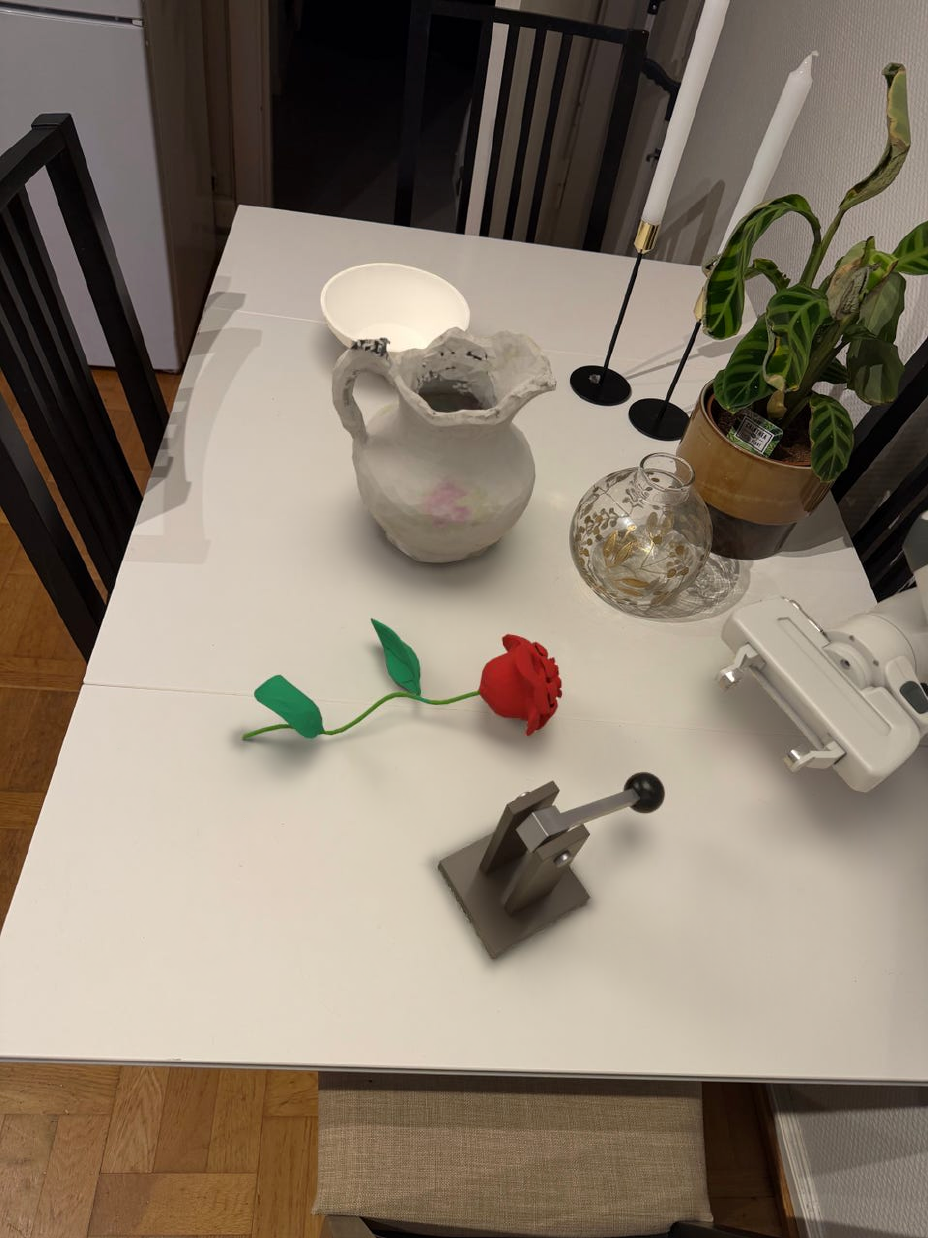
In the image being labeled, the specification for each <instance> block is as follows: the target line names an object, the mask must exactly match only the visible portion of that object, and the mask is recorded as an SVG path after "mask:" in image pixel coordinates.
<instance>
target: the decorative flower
mask: <svg viewBox="0 0 928 1238" xmlns="http://www.w3.org/2000/svg"><path fill="white" fill-rule="evenodd" d="M370 622H371V624H372V626H373V628H374V630H375V633H376V634H377V637H378V639H379V641H380V643H381V647H382V649H383V652H384V656H385V663H386V668H387V671H388V674H389V675H390V677H391V679H393V681H395V682H396V683H397V684H398V685H400V686H402V687H403V688H405V689H406V690H407V691H408V692H404V691H397V692H392V693H389V694H387V695H385V696H384V697H382V698H380V699H379V700H377V701H376V702H375V703H374V704H373V705H371V706H370V707H369V708H368V709H366V711H364V712H363V713H362V714H360V715H359V716H357V718H355V719H353V720H352V721H351V722H349V723H347V724H345V725H343V726H342V727H340V728H336V729H333V730H325V728H324V725H323V716H322V713H321V710H320V707H318V705H317V704H316V703H315V702H314V701H313V700H312V699H311V698H310V697H308V696H307V694H305V693H304V692H302V691H301V690H300V689H299V688H297V687H296V686H295V685H293V684H292V683H291V682H290V681H289V680H287V678H286V677H284V676H283V675H281V674H276V675H274V676H272V677H269V678H268V679H266V680H265V681H264V682H263V683H262V684H260V685H259V686H258V687H257V688H256V689H254V692H253V697H254V698H255V700H256V701H257V702H258V703H260V704H261V705H263V706H265V707H266V708H267V709H269V710H270V711H272V712H274V713H275V714H276V715H278V716H279V717H280V718H282V719H283V720H284V721H285V722H286V723H278V724H273V725H270V726H264V727H262V728H259V729H255V730H253V731H249V732H248V733H245V734H243V735H242V740H245V739H249V738H251V737H254V736H257V735H260V734H264V733H267V732H272V731H276V730H277V731H278V730H286V729H287V730H294V731H295V732H296V733H298V735H300V736H301V737H302V738H305V739H311V740H312V739H316V738H317V737H318V736H319V735H320V736H321V735H325V736H335V735H338V734H342V733H344V732H345V731H347V730H349V729H351V728H352V727H354V726H355V725H358V723H361V722H362V721H363V720H364V719H365V718H366V717H367V716H369V715H371V713H372V712H374V711H375V710H377V708H378V707H380V706H381V705H383V704H384V703H386V702H387V701H389V700H392V699H395V698H409V699H412V700H416V701H418V702H422V703H424V704H427V705H432V706H442V705H450V704H452V703H456V702H460V701H462V700H466V699H469V698H473V697H477V696H479V697H481V699H482V700H483V702H485V704H487V706H488V707H489V708H490V709H491V710H492V711H493V713H494V714H495V715H497V716H499V717H502V718H503V719H515V720H517V719H518V720H521V721H525V722H526V724H527V727H526V729H525V736H526V737H527V738H528V737H530V736H532V735H533V734H534V733H535V732H537V731H540V730H541V729H542V728H544V727H545V726H546V725H547V723H548V722H549V720H550V719H551V718H552V717H553V716H554V715H555V713H556V712H557V710H558V708H559V703H558V699H557V698H559V699H561V698H562V697H563V690H562V689H561V688H562V686H563V682H562V679H561V678H560V676H559V675H560V671H559V670H560V669H559V668H560V667H559V665H557V664H556V658H555V656H553V657H549V653H548V650H547V648H545V647H544V646H543V645H542V643H541V644H540V643H539V642H537V641H533V642H531V641H530V640H529V639H527V638H525V637H523V636H519V635H516V634H511V633H507V634H505V635H503V636H502V637H501V641H502V646H503V648H504V649H505V651H506V652H505V653H502V654H500V655H498V656H496V657H493V658H491V659H490V660H489V661H488V662H486V663H485V665H484V667H483V669H482V670H481V677H480V682H479V687H478V689H477V690H475V691H471V692H467V693H465V694H462V695H458V696H455V697H452V698H448V699H441V700H440V699H439V700H438V699H436V700H435V699H428V698H424V697H423V696H422V695H421V693H422V689H421V666H420V659H419V658H418V655H417V654H416V652H415V651H414V650H413V648H412V647H411V646H410V645H408V644H407V643H406V642H405V641H403V640H402V639H401V637H400V636H399V635H398V634H397V633H396V631H394V630H393V629H392V628H391V627H389V626H388V625H386V624H385V623H383V622H380V621H379V620H377V619H375V618H372V617H370ZM548 657H549V658H548Z"/></svg>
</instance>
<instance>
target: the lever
mask: <svg viewBox="0 0 928 1238" xmlns="http://www.w3.org/2000/svg"><path fill="white" fill-rule="evenodd" d="M660 779H661V778H659V777H658V776H657V775H655V774H653V773H651V772H648V771H640V772H636V773H634V774H632V775H630V776H629V777H628V778H627V780H626V781H625V783H624V785H623V788H622V789H623V791H621V792H617V793H615V794H612V795H609V796H606V797H603V798H601V799H598V800H595V801H592V802H589V803H586V804H583V805H580V806H577V807H575V808H571V809H569V810H566V811H563V812H560V810H559V809H558V807H557V806H556V804H552V806H550V807H547V808H544V809H541V810H538V811H535V812H532V813H531V814H530V815H529V816H528V817H527V818H526V819H525V820H524V821H523V822H522V823H521V824H520V825H519V826H518V827H517V829H516V831H517V832H518V834H519V836H520V837H521V839H522V840H523V842H524V843H525V845H526V846H527V848H528V849H529V851H530V853H533V852H535V850H536V849H537V848H539V847H541V846H543V845H545V844H546V843H548V842H550V841H552V840H554V839H555V838H557V837H559V836H561V835H563V834H564V833H566V832H568V831H570V830H571V829H573V828H575V827H577V826H579V825H581V824H586V823H588V822H591V821H594V820H597V819H600V818H602V817H605V816H608V815H610V814H613V813H615V812H616V813H617V812H618V811H621V810H624V809H626V808H630V809H631V810H632V811H634V812H636V813H638V814H643V815H644V814H652V813H654V812H656V811H657V810H658V809H660V808H661V807H662V805H663V804H664V801H665V797H666V789H665V785H664V783H663V782H662V781H661V780H660Z"/></svg>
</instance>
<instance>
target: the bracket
mask: <svg viewBox="0 0 928 1238" xmlns="http://www.w3.org/2000/svg"><path fill="white" fill-rule="evenodd" d="M560 792H561V790H560V788H559V786H557V783H556V782H555V781H554V780H551V781H548V782H546V783H545V784H543V785H541V786H539V787H537V788H535V789H533V790H532V791H525V792H523V793H521V794H519V795H518V796H517V797H516V798H515V799H514V800H512V801H511V802H508V803H506V805H505V807H504V810H503V812H502V814H501V816H500V818H499V821H498V823H497V825H496V828H495V830H494V831H493V832H492V833H490V834H488V835H486V836H484V837H482V838H480V839H478V840H477V841H475V842H472V843H471V844H469V845H467V846H465V847H463V848H461V849H459V850H458V851H456V852H454V853H451V854H450V855H448V856H447V857H444V858H442V859H441V860H439V862H438V865H437V867H438V869H439V870H440V872H441V874H442V875H443V877H444V879H445V881H446V882H447V884H448V886H449V887H450V889H451V891H452V893H453V894H454V896H455V898H456V899H457V901H458V903H459V905H460V906H461V908H462V910H463V911H464V913H465V915H466V916H467V919H468V920H469V923H471V925H472V927H473V929H474V930H475V932H476V934H477V936H478V937H479V939H480V940H481V942H482V944H483V946H484V947H485V949H486V951H487V953H488V955H489V956H490V958H491V959H492V960H493V959H495V958H496V957H498V956H499V955H501V954H503V953H505V952H506V951H508V950H510V949H511V948H513V947H515V946H516V945H518V944H520V943H521V942H523V941H525V940H526V939H528V938H529V937H531V936H533V935H534V934H536V933H538V932H540V931H541V930H543V929H545V928H546V927H548V926H550V925H551V924H553V923H555V922H556V921H558V920H560V919H561V918H562V917H563V918H564V916H566V915H568V914H570V913H571V912H573V911H575V910H576V909H578V908H579V907H581V906H583V905H585V904H586V903H588V902H589V900H590V898H591V896H590V894H589V893H588V891H587V890H586V888H585V887H584V885H583V884H582V882H581V881H580V880H579V878H578V877H577V875H576V874H575V872H574V871H573V869H572V867H571V866H570V865H571V864H572V862H573V861H574V859H575V858H576V856H577V855H578V854H579V852H580V850H582V847H583V846H584V844H585V843H586V841H587V840H588V839H589V837H590V836H591V833H590V831H589V830H588V829H587V827H586V825H585V823H583V824H580V825H578V826H575V827H572V828H571V829H569V830H568V831H567V832H566V833H564V834H563V835H561V836H559V837H557V838H555V839H554V840H552V841H550V842H548V843H546V844H545V845H543V846H541V847H539V848H537V849H536V850H535V852H533V853H530V851H529V849H528V848H527V846H526V845H525V843H524V842H523V840H522V839H521V837H520V836H519V834H518V832H517V831H516V829H517V827H518V826H519V825H520V824H521V823H522V822H523V821H524V820H525V819H526V818H527V817H528V816H529V815H530V814H531V813H532V812H535V811H538V810H541V809H544V808H547V807H550V806H553V805H554V802H555V801H556V799H557V797H558V795H559V793H560Z"/></svg>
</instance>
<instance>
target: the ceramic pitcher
mask: <svg viewBox="0 0 928 1238" xmlns="http://www.w3.org/2000/svg"><path fill="white" fill-rule="evenodd" d="M358 340H359V341H356V342H354V341H352V344H351V347H350V348H347V349H346V350H345V351H344V352H343V353H342V354H341V355H340V356H339V357H338V358H337V360H336V362H335V364H334V367H333V370H332V372H331V373H332V375H331V398H332V404H333V407H334V409H335V411H336V413H337V415H338V417H339V420H340V422H341V425H342V427H343V429H345V430H346V431H347V432H348V433H349V434H350V438H351V439H352V446H351V447H352V453H351V460H352V464H353V467H354V472H355V476H356V483H357V487H358V492H359V495H360V498H361V500H362V502H363V505H364V506H365V508H366V510H367V511H368V513H369V514H370V515H371V516H372V517H373V519H374V520H375V521H376V522H377V524H378V525H379V526H380V527H381V528H382V529H383V530H384V532H385V538H386V539H387V541H389V543H391V544H392V545H393V546H395V547H396V548H397V549H398V550H399V551H401V552H402V553H404V554H405V555H406V556H407V557H409V558H410V559H411V560H413V561H414V562H421V563H422V562H423V563H449V562H456V561H462V560H468V559H471V558H477V557H479V556H480V555H481V554H483V553H484V552H485V551H486V550H488V549H490V548H491V546H492V544H494V543H495V542H497V541H498V540H500V538H502V537H504V536H505V535H506V534H507V533H509V532H510V531H511V530H512V529H513V528H514V527H515V525H516V524H517V523H518V521H519V520H520V518H521V517H522V515H523V514H524V512H525V511H526V508H527V507H528V505H529V502H530V500H531V497H532V494H533V491H534V486H535V482H536V476H537V475H536V463H535V460H534V456H533V453H532V448H531V445H530V444H529V442H528V440H527V438H526V436H525V434H524V432H522V430H521V429H520V428H519V427H518V426H517V425H516V424H515V423H514V422H513V420H514V418H515V417H516V415H517V414H518V413H519V412H520V411H521V410H522V409H523V408H524V407H525V406H526V405H527V404H528V403H529V402H531V401H532V400H533V399H535V398H536V397H538V396H539V395H542V394H545V393H548V392H553V391H556V389H557V380H556V379H555V378H554V376H553V375H552V373H553V372H552V371H551V364H550V363H551V362H550V360H549V358H548V356H547V354H546V353H545V352H544V351H543V349H542V348H541V347H540V346H539V345H538V344H537V342H536V341H535V340H534V339H533V338H532V337H531V335H530V334H529V333H524V332H521V331H517V330H508V329H507V330H500V331H499V332H497V333H495V334H493V335H492V336H489V337H486V338H481V337H479V336H476V335H473V334H470V333H468V332H467V331H466V332H465V331H463V330H462V329H460V328H458V327H453V328H450V329H448V330H446V331H445V332H444V333H443V334H441V335H440V336H438V337H437V338H435V339H434V340H433V341H432V342H431V343H430V344H429V345H428V347H427V348H425V349H417V348H414V349H409V350H406V351H402V352H399V353H398V354H397V355H396V356H395V357H394V358H393V359H391V357H390V355H389V354H388V352H387V350H386V349H387V344H388V343H389V345H390V341H389V340H388V339H387V338H383V337H380V339H364V340H361V339H358ZM364 372H369V373H372V374H373V373H374V374H377V375H381V376H384V378H385V379H386V380H387V381H388V382H389V384H390V385H391V386H392V388H393V389H394V390H395V391H396V392H397V394H398V400H396V401H394V402H392V403H390V404H387V405H385V406H384V407H382V408H381V409H380V410H378V411H377V412H376V413H375V414H374V415H373V416H372V417H371V418H370V419H369V420H368V421H367V423H365V420H364V416H363V413H362V411H361V409H360V407H359V405H358V403H357V402H356V399H355V397H354V395H353V394H354V387H355V383H356V382H355V381H356V378H357V376H359V374H361V373H364Z"/></svg>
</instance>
